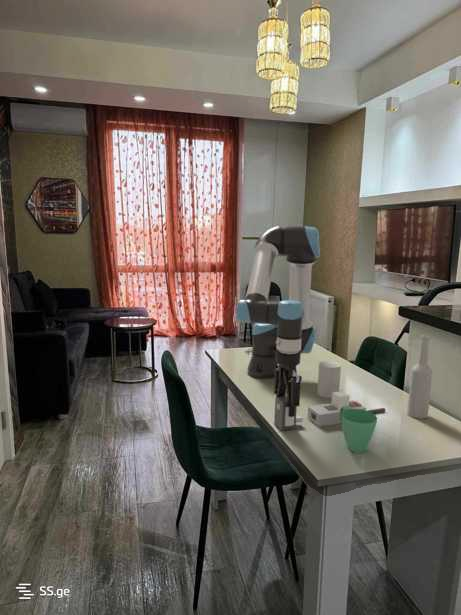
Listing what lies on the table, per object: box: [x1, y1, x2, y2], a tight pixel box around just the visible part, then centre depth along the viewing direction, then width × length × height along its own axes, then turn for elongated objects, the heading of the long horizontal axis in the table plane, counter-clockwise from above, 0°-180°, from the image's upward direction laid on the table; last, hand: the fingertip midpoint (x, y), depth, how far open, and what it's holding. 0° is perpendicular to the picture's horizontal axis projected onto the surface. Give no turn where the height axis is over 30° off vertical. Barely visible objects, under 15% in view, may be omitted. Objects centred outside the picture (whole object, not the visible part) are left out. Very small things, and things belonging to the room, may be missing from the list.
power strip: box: [307, 400, 386, 427], centre depth 143 cm, size 7×29×5 cm, turn 111°
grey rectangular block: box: [273, 395, 304, 431], centre depth 135 cm, size 5×8×9 cm, turn 111°
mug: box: [341, 406, 378, 454], centre depth 124 cm, size 15×10×10 cm
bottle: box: [406, 334, 433, 420], centre depth 144 cm, size 7×7×28 cm
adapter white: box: [331, 390, 350, 410], centre depth 141 cm, size 4×4×4 cm
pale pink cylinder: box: [316, 360, 342, 399], centre depth 163 cm, size 8×8×12 cm
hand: (285, 421), depth 135 cm, fingers closed on grey rectangular block, 5 cm apart
